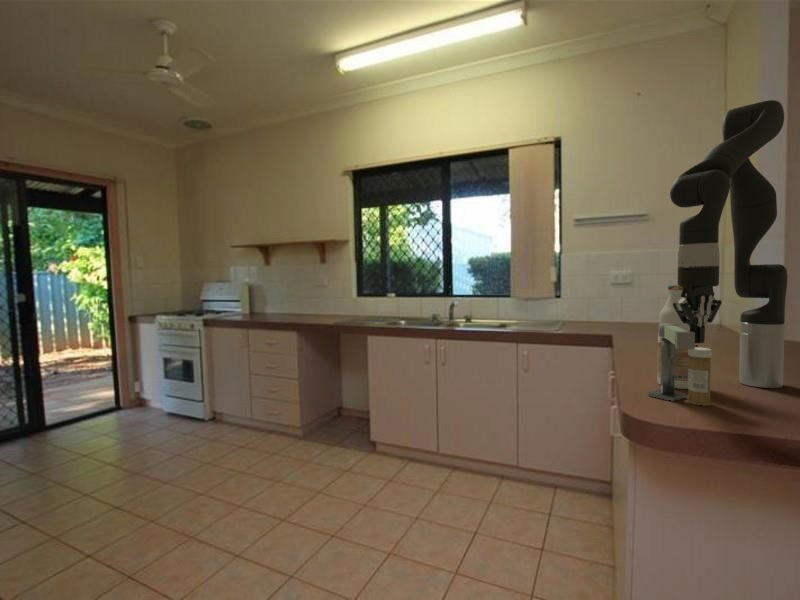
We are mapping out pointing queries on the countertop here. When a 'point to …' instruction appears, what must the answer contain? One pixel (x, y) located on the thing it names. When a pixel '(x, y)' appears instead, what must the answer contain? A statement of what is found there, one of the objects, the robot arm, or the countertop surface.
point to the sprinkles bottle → (699, 376)
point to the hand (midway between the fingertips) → (697, 342)
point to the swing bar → (677, 336)
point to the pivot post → (667, 373)
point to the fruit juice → (681, 355)
